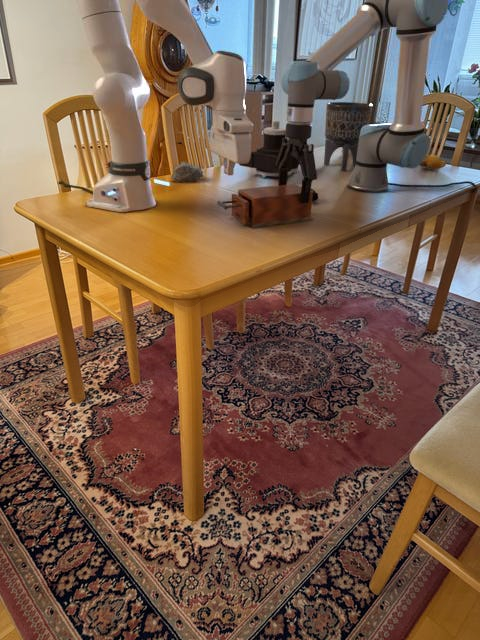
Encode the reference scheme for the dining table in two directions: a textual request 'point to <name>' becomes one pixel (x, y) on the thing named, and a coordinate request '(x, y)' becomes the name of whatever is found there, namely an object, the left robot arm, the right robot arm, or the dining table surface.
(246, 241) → the dining table surface
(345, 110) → the planter
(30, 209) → the dining table surface
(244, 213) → the drawer
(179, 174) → the rock
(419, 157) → the right robot arm
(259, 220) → the cabinet
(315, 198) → the tape measure
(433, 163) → the toy
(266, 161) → the mechanical component
